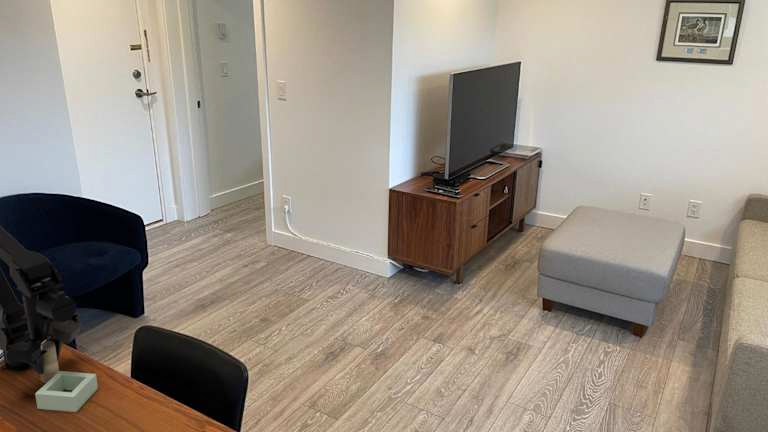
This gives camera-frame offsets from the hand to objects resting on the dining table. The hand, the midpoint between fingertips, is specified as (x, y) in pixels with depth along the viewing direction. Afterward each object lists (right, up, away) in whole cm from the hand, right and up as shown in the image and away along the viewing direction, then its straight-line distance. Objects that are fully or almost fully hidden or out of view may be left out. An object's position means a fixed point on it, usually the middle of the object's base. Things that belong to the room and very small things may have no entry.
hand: (48, 367), depth 141 cm
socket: (+8, -6, -6) cm, 12 cm away
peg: (0, -3, +1) cm, 3 cm away
